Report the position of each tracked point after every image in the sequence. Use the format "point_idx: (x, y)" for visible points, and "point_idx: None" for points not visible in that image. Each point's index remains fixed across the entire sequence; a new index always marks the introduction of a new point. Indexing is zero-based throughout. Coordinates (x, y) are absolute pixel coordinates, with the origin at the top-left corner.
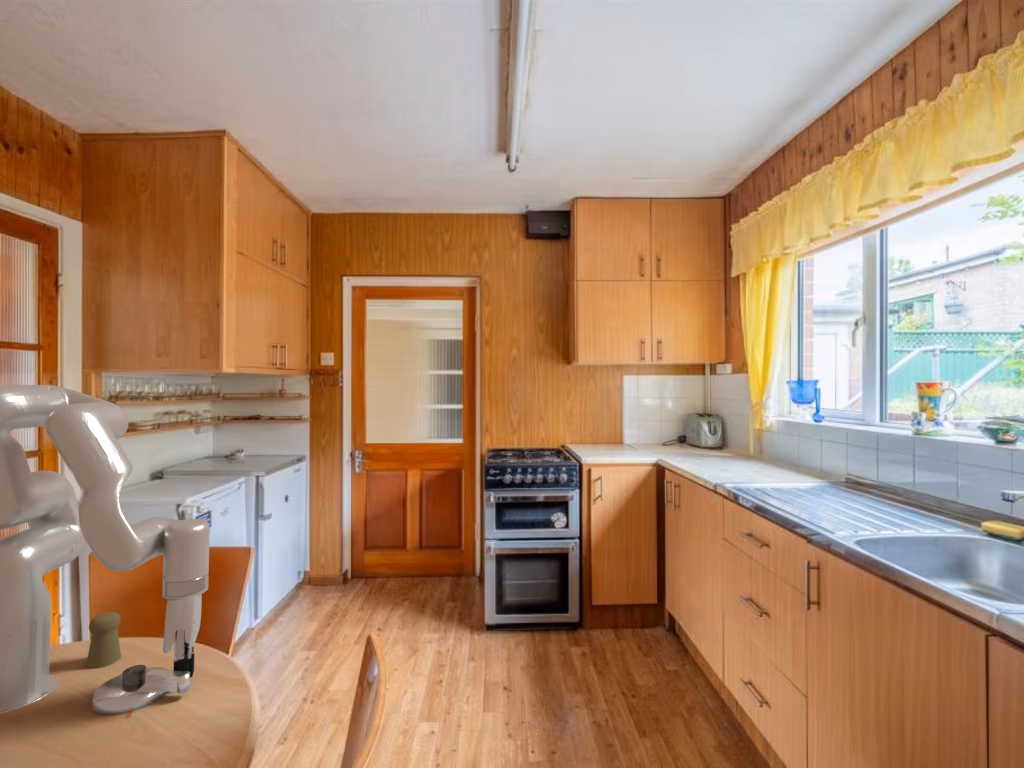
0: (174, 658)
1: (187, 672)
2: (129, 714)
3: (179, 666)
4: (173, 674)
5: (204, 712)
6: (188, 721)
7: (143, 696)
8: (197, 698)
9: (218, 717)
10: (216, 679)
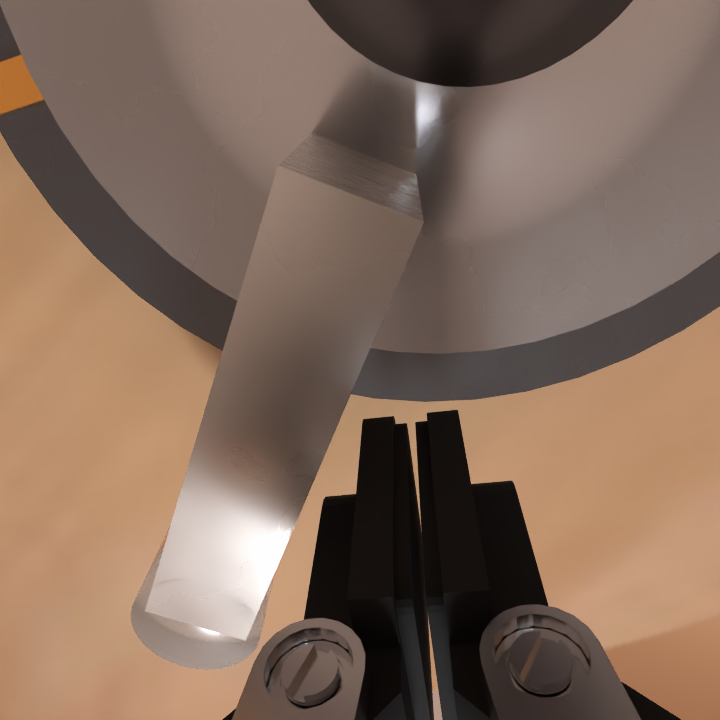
0: (246, 695)
1: (226, 650)
2: (30, 83)
3: (312, 600)
4: (207, 536)
5: (143, 565)
6: (56, 506)
7: (146, 179)
8: (314, 498)
9: (88, 634)
10: (539, 558)
